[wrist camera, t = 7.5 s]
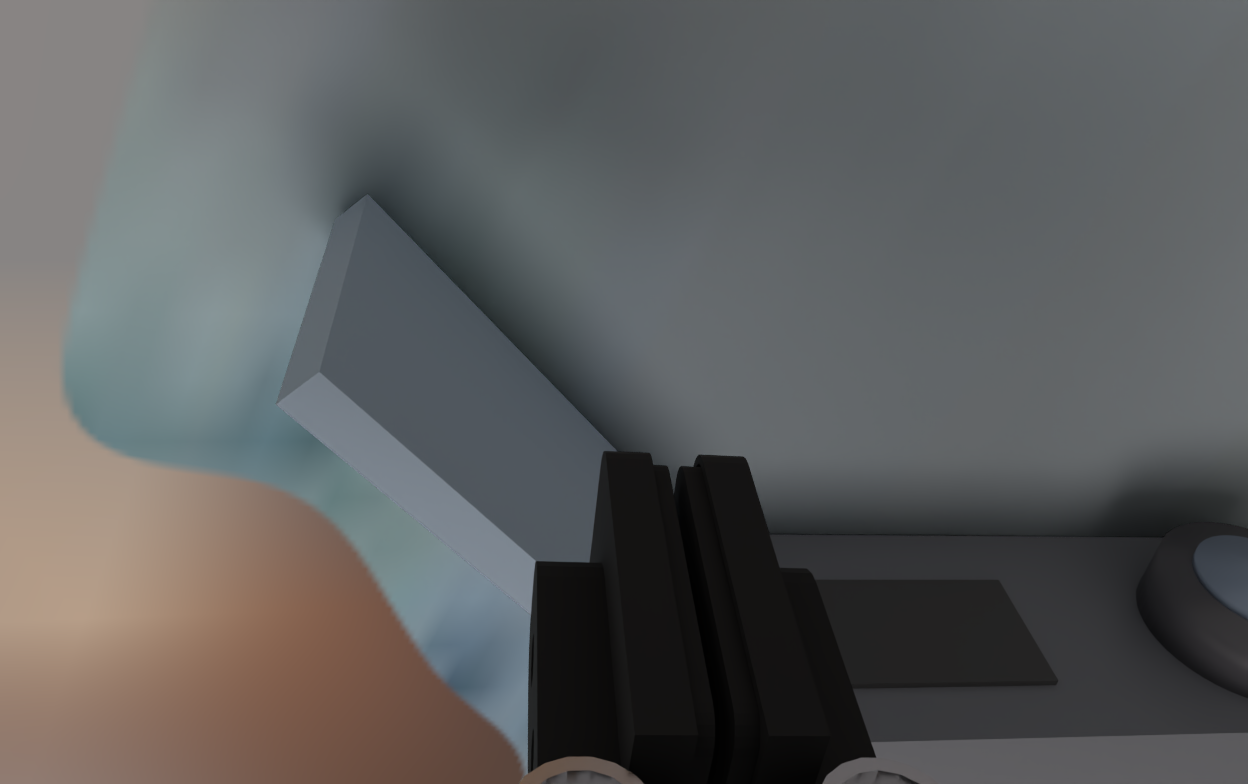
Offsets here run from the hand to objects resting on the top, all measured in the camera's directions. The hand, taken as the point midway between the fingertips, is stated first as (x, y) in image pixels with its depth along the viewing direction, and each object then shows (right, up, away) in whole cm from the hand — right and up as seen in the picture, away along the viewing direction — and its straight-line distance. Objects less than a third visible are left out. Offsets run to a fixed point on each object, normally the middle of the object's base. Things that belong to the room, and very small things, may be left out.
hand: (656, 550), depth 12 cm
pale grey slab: (-3, +2, +9) cm, 9 cm away
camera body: (+9, -5, +16) cm, 19 cm away
